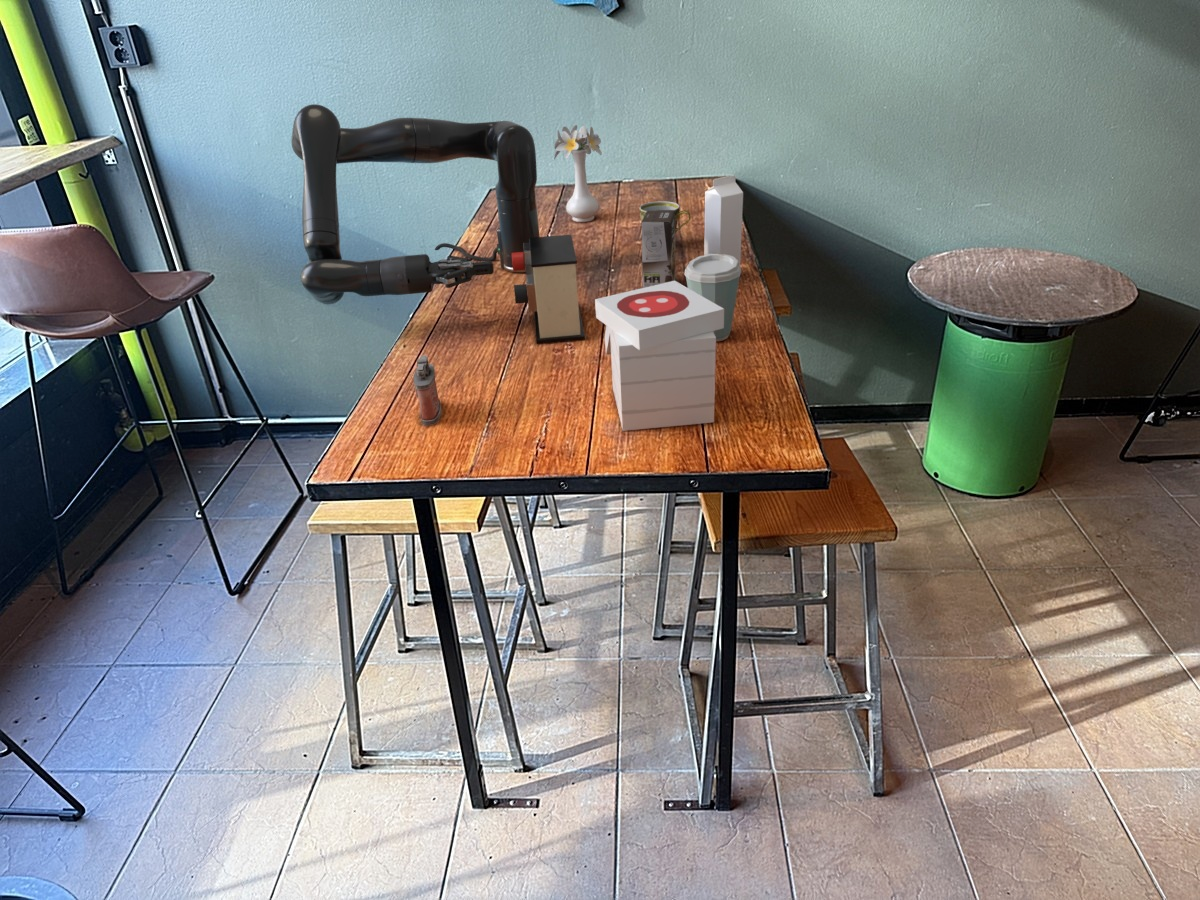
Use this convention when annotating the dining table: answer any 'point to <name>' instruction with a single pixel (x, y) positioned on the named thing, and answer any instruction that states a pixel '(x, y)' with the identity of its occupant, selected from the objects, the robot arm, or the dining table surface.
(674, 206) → the ceramic cup
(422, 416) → the lighter
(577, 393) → the dining table surface
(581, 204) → the flower vase
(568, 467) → the dining table surface
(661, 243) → the coffee box
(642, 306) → the pizza boxes
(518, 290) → the black button
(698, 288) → the disposable coffee cup
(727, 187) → the milk
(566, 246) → the control box
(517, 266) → the red button
